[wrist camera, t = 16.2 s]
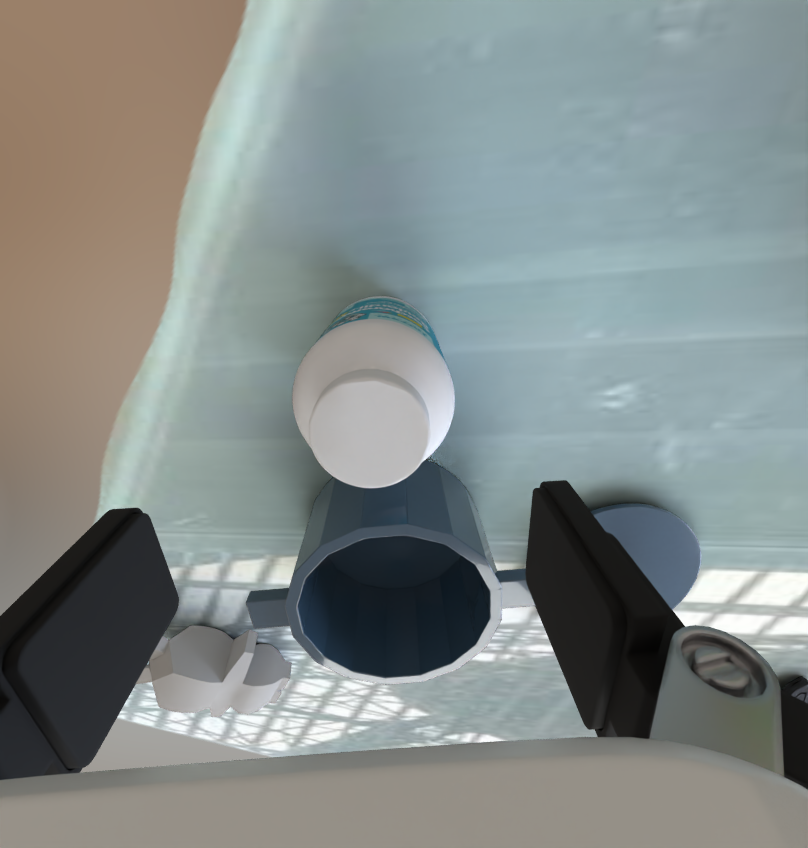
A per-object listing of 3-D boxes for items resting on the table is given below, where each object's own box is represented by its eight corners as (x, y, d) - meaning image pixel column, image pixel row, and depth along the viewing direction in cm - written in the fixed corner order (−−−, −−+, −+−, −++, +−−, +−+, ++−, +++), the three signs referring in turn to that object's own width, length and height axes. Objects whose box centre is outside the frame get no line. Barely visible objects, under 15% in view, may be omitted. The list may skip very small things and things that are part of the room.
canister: (261, 465, 31) (217, 539, 24) (512, 444, 31) (551, 512, 23) (294, 599, 37) (268, 694, 29) (508, 581, 37) (539, 673, 29)
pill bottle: (431, 287, 26) (465, 328, 14) (440, 396, 29) (474, 507, 17) (315, 301, 27) (248, 352, 14) (335, 407, 30) (295, 526, 17)
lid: (529, 506, 34) (555, 555, 28) (708, 491, 33) (767, 537, 28) (523, 632, 39) (544, 692, 34) (676, 620, 39) (719, 678, 34)
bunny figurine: (262, 739, 38) (79, 717, 34) (270, 684, 43) (110, 657, 38) (299, 677, 35) (103, 643, 30) (304, 624, 40) (134, 587, 35)
